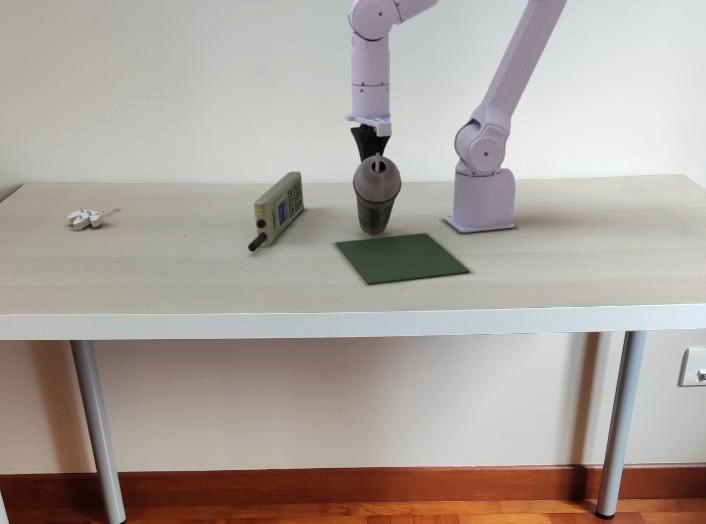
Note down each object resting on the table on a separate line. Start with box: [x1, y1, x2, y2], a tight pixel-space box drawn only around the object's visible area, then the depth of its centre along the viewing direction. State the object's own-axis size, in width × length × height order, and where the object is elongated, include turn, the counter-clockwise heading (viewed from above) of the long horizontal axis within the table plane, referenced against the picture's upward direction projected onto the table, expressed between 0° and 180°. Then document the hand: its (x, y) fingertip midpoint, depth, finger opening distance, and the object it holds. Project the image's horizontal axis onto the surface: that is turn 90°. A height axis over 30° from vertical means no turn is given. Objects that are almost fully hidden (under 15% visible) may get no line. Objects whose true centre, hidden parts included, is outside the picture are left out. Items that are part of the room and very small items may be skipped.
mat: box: [335, 232, 470, 286], centre depth 121 cm, size 15×18×1 cm
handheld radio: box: [247, 170, 305, 253], centre depth 131 cm, size 7×3×25 cm
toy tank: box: [67, 207, 118, 231], centre depth 138 cm, size 6×12×3 cm, turn 179°
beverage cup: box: [352, 153, 403, 236], centre depth 121 cm, size 7×7×20 cm
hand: (371, 174), depth 129 cm, fingers closed
